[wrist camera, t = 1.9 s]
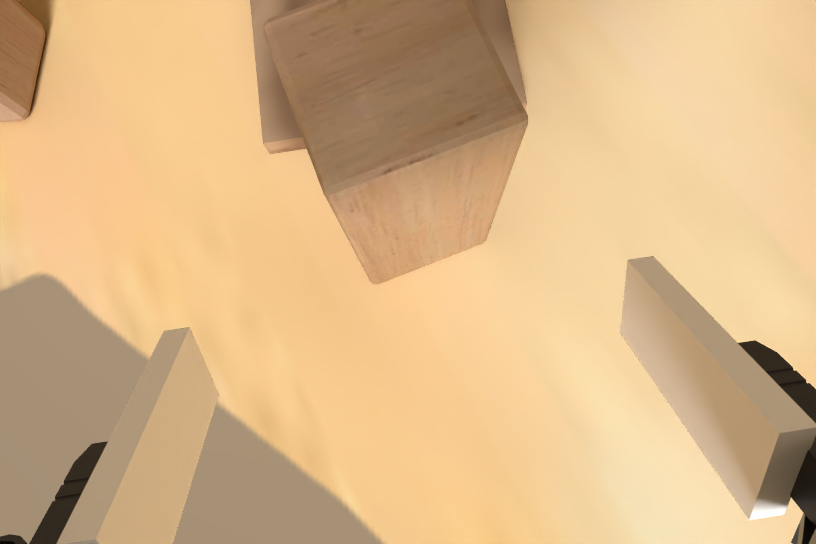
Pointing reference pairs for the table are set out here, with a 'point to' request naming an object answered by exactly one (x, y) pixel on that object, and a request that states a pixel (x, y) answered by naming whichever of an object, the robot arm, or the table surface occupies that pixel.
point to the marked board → (273, 100)
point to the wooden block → (401, 122)
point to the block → (18, 59)
